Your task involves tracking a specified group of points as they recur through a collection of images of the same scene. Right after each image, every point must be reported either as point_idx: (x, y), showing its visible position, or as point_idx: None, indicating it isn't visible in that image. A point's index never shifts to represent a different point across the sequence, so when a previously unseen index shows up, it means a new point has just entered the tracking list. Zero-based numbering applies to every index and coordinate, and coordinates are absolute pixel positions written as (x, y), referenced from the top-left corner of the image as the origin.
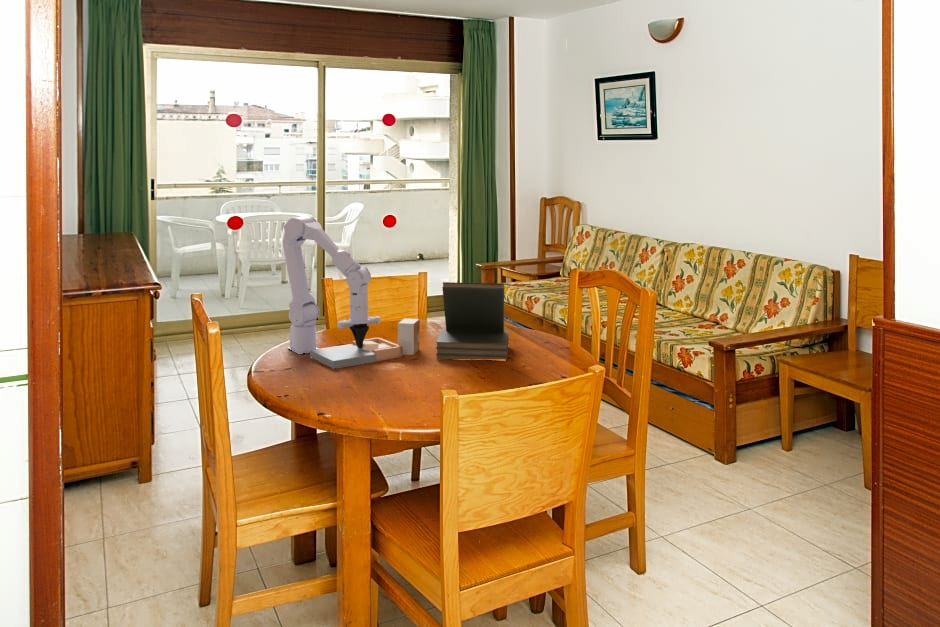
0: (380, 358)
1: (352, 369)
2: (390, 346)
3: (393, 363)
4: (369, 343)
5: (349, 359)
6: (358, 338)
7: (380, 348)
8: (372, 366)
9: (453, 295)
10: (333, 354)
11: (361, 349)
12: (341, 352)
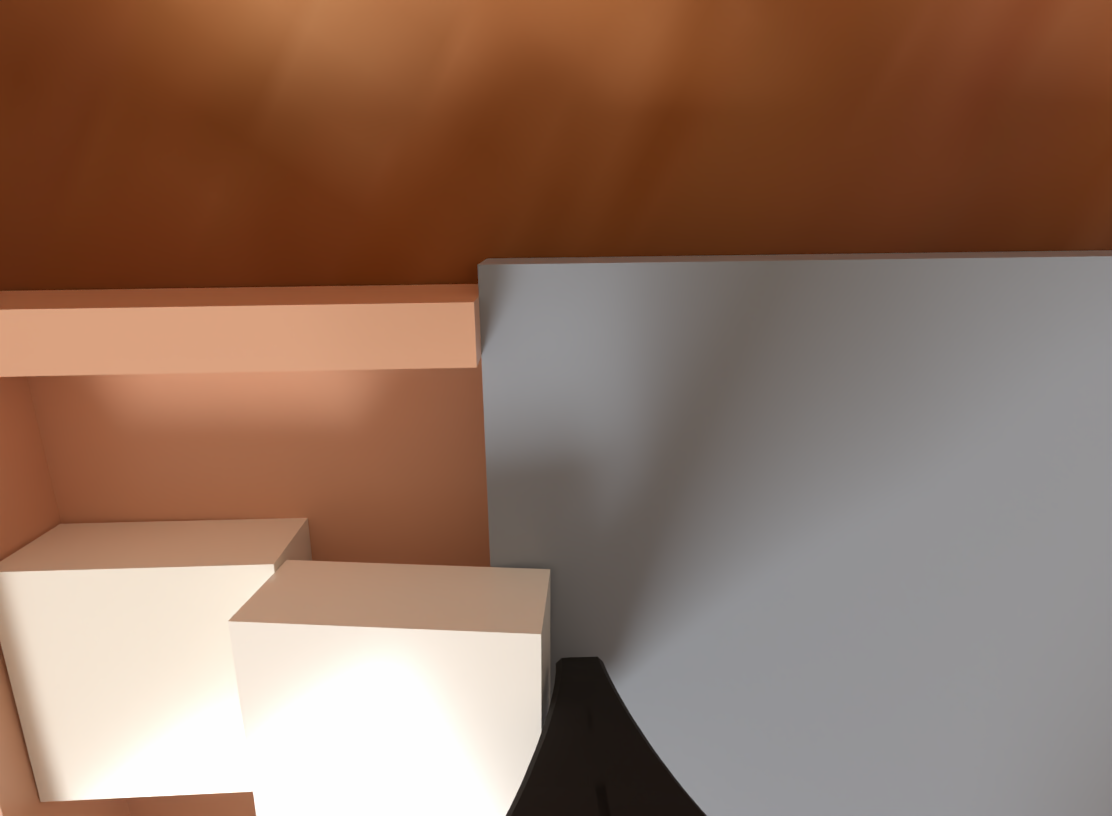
0: (392, 286)
1: (1022, 60)
2: (13, 578)
3: (280, 2)
4: (403, 690)
5: (1027, 255)
6: (678, 792)
7: (234, 563)
8: (676, 38)
9: None
10: (1066, 615)
11: None
12: (903, 656)
